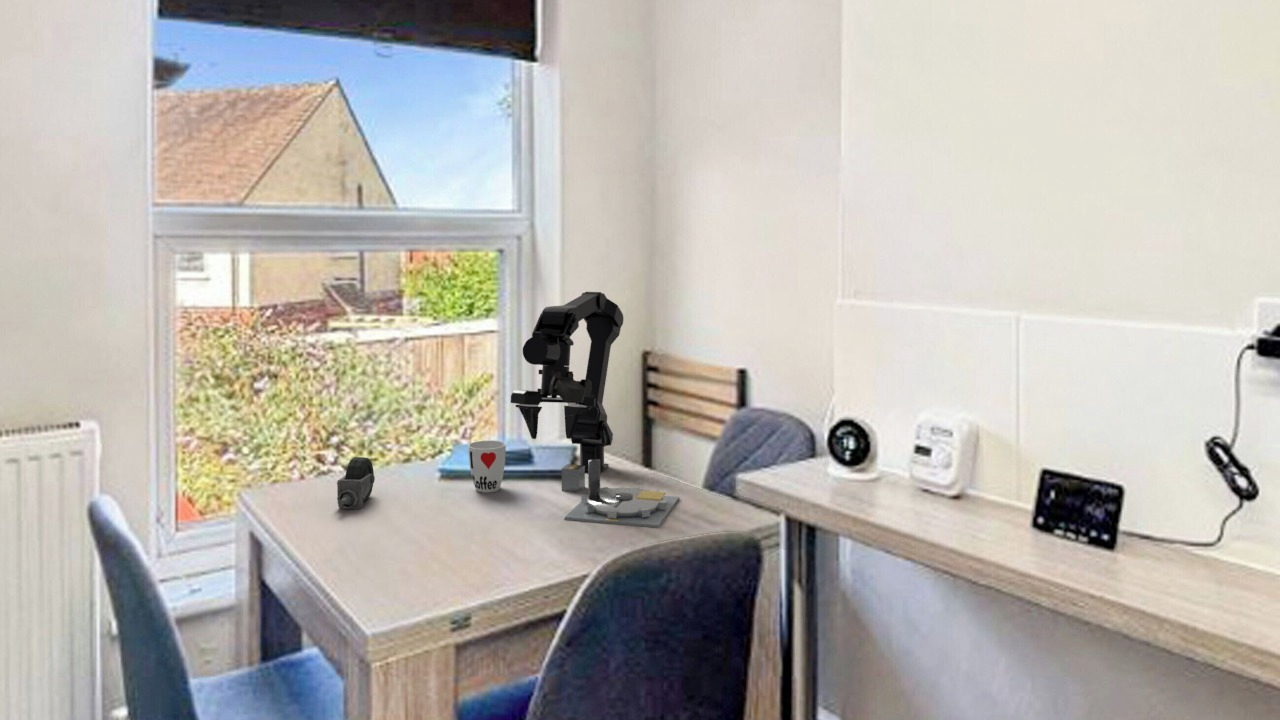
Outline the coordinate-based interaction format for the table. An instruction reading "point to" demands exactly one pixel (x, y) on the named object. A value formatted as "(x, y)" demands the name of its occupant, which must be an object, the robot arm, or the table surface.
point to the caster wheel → (355, 483)
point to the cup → (487, 464)
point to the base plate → (650, 521)
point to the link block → (573, 478)
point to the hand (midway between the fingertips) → (551, 438)
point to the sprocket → (619, 497)
